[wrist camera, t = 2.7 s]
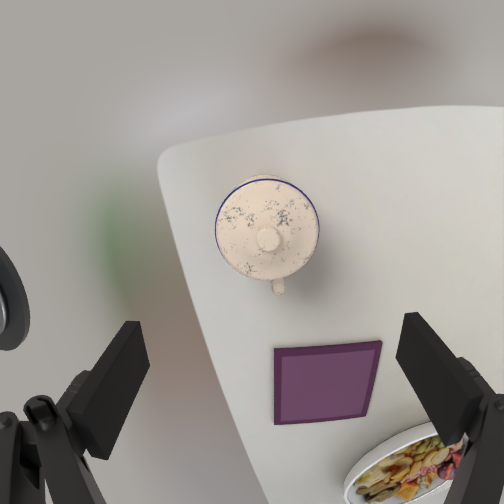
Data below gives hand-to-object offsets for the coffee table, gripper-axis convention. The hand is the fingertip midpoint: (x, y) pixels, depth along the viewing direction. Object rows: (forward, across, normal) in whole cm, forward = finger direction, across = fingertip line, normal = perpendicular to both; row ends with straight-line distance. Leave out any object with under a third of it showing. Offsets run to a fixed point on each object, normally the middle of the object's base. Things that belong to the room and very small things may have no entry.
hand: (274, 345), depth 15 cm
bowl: (+23, +30, -49) cm, 62 cm away
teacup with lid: (+23, 0, +1) cm, 23 cm away
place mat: (+23, +8, -23) cm, 34 cm away
